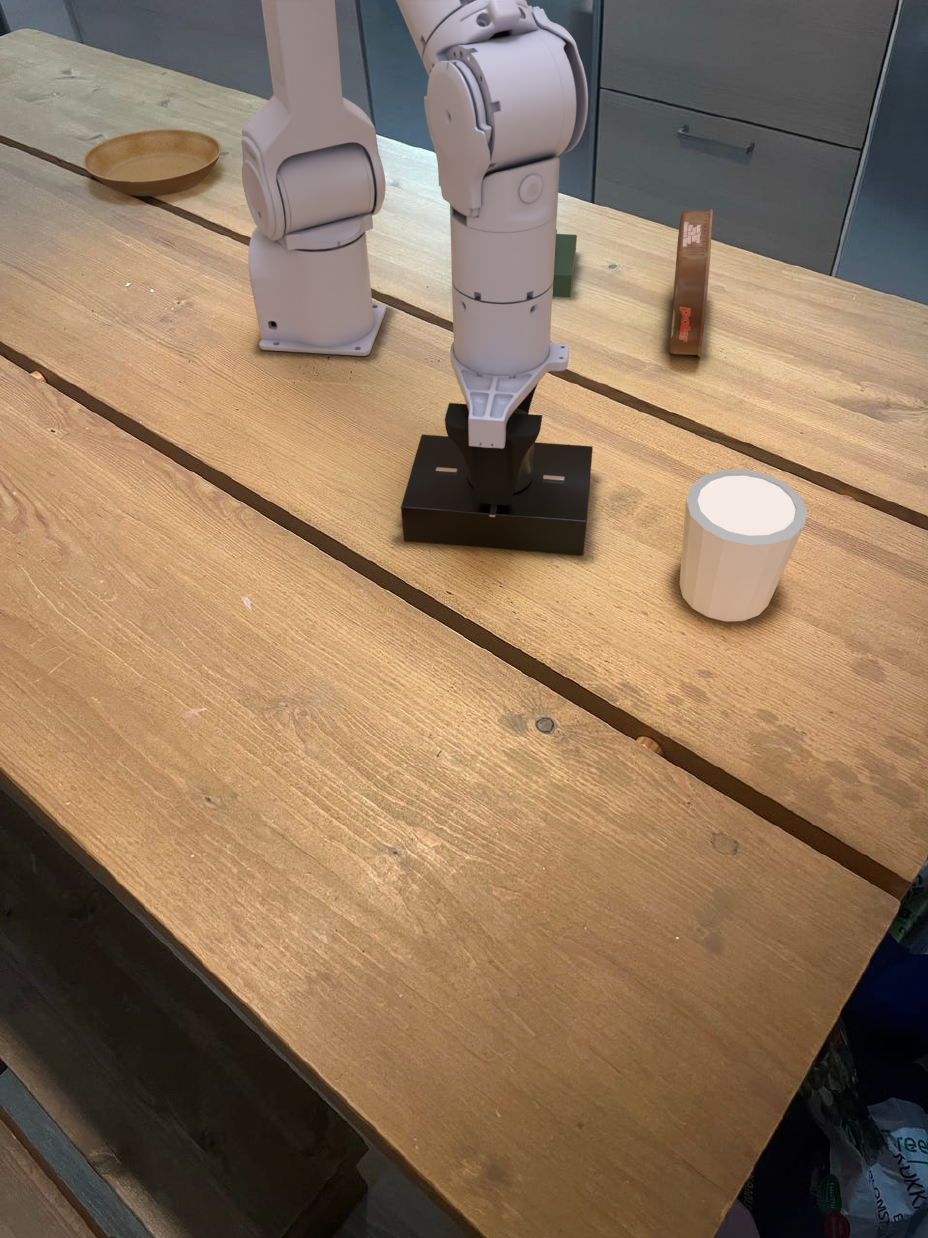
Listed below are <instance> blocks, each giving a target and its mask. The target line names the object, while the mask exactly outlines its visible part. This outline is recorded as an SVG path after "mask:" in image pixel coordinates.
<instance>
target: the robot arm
mask: <svg viewBox="0 0 928 1238" xmlns="http://www.w3.org/2000/svg"><path fill="white" fill-rule="evenodd" d="M395 1H396V3H397V4H396V5H397V6H398V8H399V11H400V13H401V15H402V17H403V20H404V22H405V25H406V27H407V30H408V32H409V34H410V36H411V38H412V41H413V43H414V46H415V47H416V50H417V52H418V55H419V57H420V60H421V61H422V65H423V66H424V69H425V71H426V73H427V75H428V80H427V86H426V87H427V88H426V95H424V96H423V104H424V114H425V120H426V126H427V129H428V133H429V136H430V140H431V143H432V146H433V149H434V153H435V157H436V162H437V174H438V177H437V178H438V187H440V190H441V197H442V199H443V200H444V201H445V202H447V203H448V204H449V220H450V221H449V225H450V227H449V228H450V261H451V292H452V293H451V298H452V300H451V301H452V302H451V303H452V332H453V340H452V343H451V344H450V345H451V346H450V352H449V353H450V364H451V367H452V370H453V372H454V376H455V378H456V380H457V383H458V386H459V389H460V391H461V394H462V397H463V399H464V402H465V403H459V402H449V403H448V405H447V407H446V412H445V416H444V428H445V431H446V434H447V435H446V436H448V437H449V438H450V439H451V440H452V441H453V442H454V444H455V445H456V446H457V448H458V449H459V451H460V452H461V454H462V456H463V458H464V460H465V462H466V465H467V467H468V471H469V474H470V477H471V481H472V485H473V488H474V491H475V494H476V497H477V499H478V502H479V503H485V504H497V505H509V504H510V502H511V500H512V497H513V495H514V491H515V487H516V483H517V479H518V474H519V470H520V467H521V464H522V461H523V459H524V457H525V455H526V453H527V452H528V450H529V449H530V447H531V446H532V445H533V444H534V443H535V442H536V441H537V439H538V438H539V435H540V432H541V427H542V421H543V415H542V414H534V413H533V414H531V413H530V409H531V404H532V402H533V399H534V398H533V397H534V395H535V392H536V389H537V387H538V385H539V383H540V381H541V380H542V379H543V378H544V377H545V375H546V374H547V373H549V372H564V371H565V370H567V369H568V367H569V359H570V358H569V357H570V346H569V345H567V344H566V343H559V342H558V343H557V342H553V341H552V340H551V329H552V311H553V310H552V308H553V296H552V295H553V278H554V260H555V242H556V229H557V222H558V221H557V220H558V206H559V205H558V204H559V185H560V183H559V182H560V166H561V159H560V158H559V157H558V156H560V155H562V154H567V153H569V152H571V151H573V149H575V147H576V146H577V145H578V144H579V142H580V140H581V138H582V136H583V134H584V131H585V127H586V124H587V119H588V112H589V91H588V90H589V89H588V82H587V76H586V72H585V68H584V64H583V61H582V59H581V56H580V53H579V48H578V46H577V43H576V41H575V39H574V38H573V36H572V35H571V34H570V32H569V31H568V30H567V29H566V28H565V27H564V26H562V25H560V24H559V23H555V22H553V21H551V20H550V19H549V18H548V16H547V14H546V11H545V10H544V8H540V6H532V5H529V3H528V2H527V0H395ZM260 2H261V9H262V16H263V26H264V31H265V33H264V34H265V40H266V47H267V48H266V49H267V56H268V62H269V70H270V78H271V86H272V95H271V97H270V98H269V99H268V101H266V103H265V104H264V105H263V106H262V107H261V108H260V109H259V110H258V111H257V112H256V113H255V114H254V115H253V116H252V117H251V118H250V119H249V120H248V121H247V123H246V124H245V125H244V126H243V127H242V129H241V136H242V138H241V140H240V141H241V149H242V167H241V180H242V187H243V192H244V196H245V199H246V204H247V207H248V209H249V212H250V215H251V217H252V219H253V222H254V224H255V225H256V227H255V228H254V230H253V231H252V233H251V237H250V240H249V245H248V254H247V255H248V260H247V261H248V264H247V265H248V274H249V281H250V286H251V292H252V296H253V297H252V298H253V302H254V307H255V313H256V318H257V323H258V328H259V335H260V340H259V343H258V345H259V349H260V350H261V351H262V350H263V351H275V352H291V353H292V352H293V353H306V354H307V353H309V354H323V355H325V354H326V355H339V356H340V355H341V356H354V357H355V356H357V357H366V356H369V355H370V354H371V351H372V349H373V346H374V343H375V341H376V338H377V336H378V333H379V330H380V328H381V325H382V323H383V320H384V318H385V315H386V312H387V306H386V305H385V304H382V303H373V296H372V283H371V273H370V263H369V262H370V261H369V254H368V242H367V233H366V232H368V231H370V230H372V229H374V222H373V216H376V215H377V214H379V213H380V212H381V210H382V208H383V204H384V201H385V198H386V189H387V188H386V176H385V175H386V174H385V170H384V166H383V161H382V159H381V156H380V151H379V147H378V138H377V131H376V127H375V125H374V123H373V122H372V120H371V119H370V117H369V116H368V115H367V113H366V112H365V111H364V110H363V109H362V108H361V107H359V106H358V105H356V104H355V103H354V102H352V101H350V100H349V99H347V98H345V97H344V96H343V88H342V87H343V85H342V75H341V61H340V50H339V35H338V23H337V12H336V11H337V10H336V0H260ZM516 408H518V409H521V410H523V411H525V412H526V413H528V414H518V413H513V412H514V410H515V409H516Z"/></svg>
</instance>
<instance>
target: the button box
mask: <svg viewBox="0 0 928 1238" xmlns="http://www.w3.org/2000/svg"><path fill="white" fill-rule="evenodd" d="M577 240H578V235H577V234H572V233H570V234H568V233H558V229H557V228H556V242H555V260H554V278H553V295H552V297H557V298H559V297H560V298H571V295H572V287H573V279H574V271H575V263H576V256H577V255H576V254H577Z"/></svg>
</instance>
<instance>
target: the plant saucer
mask: <svg viewBox="0 0 928 1238" xmlns="http://www.w3.org/2000/svg"><path fill="white" fill-rule="evenodd" d="M221 153H222V145H221V143H220V142H219V140H217V139H216V138H215V137H213V136H212V135H209V134H206V133H204V132H201V131H194V130H189V129H181V128H180V129H178V128H161V129H148V130H141V131H140V130H139V131H134V132H130V133H126V134H122V135H118V136H114V137H112V138H109V139H106V140H104V141H102V142H100V143H98V144H97V145H95V146H93V147H92V148H91V149H90V150H89V151H87V152H86V153H85V155H84V157H83V160H82V163H83V164H82V165H83V167H84V169H85V170H86V171H87V172H88V173H90V175H92V176H93V178H95V179H96V180H98V181H99V182H100V183H102V184H103V185H104V186H106V187H108V188H109V189H111V190H113V191H115V192H117V193H119V194H123V195H126V196H132V197H133V196H134V197H145V198H146V197H161V196H168V195H173V194H177V193H181V192H184V191H187V190H189V189H191V188H193V187H196V186H197V185H199V184H200V183H201V182H203V181H204V180H205V179H206V178H207V177H208V175H209V174H210V173H211V172H212V170H213V169H214V167H215V165H216V164H217V162H218V161H219V158H220V155H221Z"/></svg>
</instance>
